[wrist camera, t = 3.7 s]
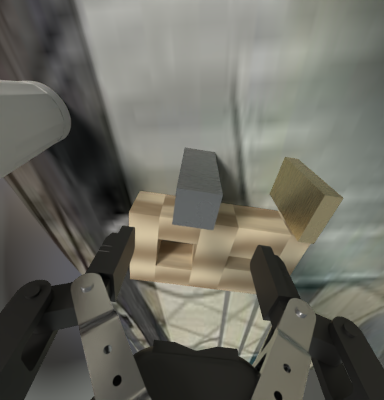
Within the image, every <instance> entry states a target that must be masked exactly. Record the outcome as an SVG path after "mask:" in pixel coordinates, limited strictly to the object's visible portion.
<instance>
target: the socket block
mask: <svg viewBox="0 0 384 400" xmlns="http://www.w3.org/2000/svg"><path fill="white" fill-rule="evenodd" d="M175 197H176V196H173V195H166V194H159V193H152V192H145V191H140V192H139V194H138V196H137V197H136V199H135V201H134V203H133V205H132V207H131V209H130V211H129V227H135V249H134V253H133V256H132V259H131V262H130V279H137V280H145V281H153V282H161V283H169V284H177V285H185V286H193V287H202V288H210V289H218V290H226V291H234V292H242V293H250V294H256V290H255V286H254V283H253V279H252V275H251V271H250V261H251V259H252V256H253V254H254V252H255V250H256V247H257V246H258V245H265V246H270V247H271V248H272V250H273V252H274V255H278V256H279V257H280V258H281V259H282V261H283V262H284V264H285V266H286V268H287V271H288V272H289V275H291V273H292V272H293V270H294V269H295V267H296V265H297V264H298V262H299V261H300V259H301V258H302V256H303V255H304V253H305V251H306V250H307V248H308V247H309V245H310V244H311V243H304V242H298V241H297V240H296V238H295V236H294V235H293V233H292V231H291V229H290V228H289V226H288V224H287V223H286V221H285V219H284V218H283V216H282V214H281V212H280V211H275V210H268V209H261V208H255V207H248V206H241V205H234V204H227V203H221V204H220V208H219V211H218V215H217V219H216V222H215V226H214V230H207V229H200V228H193V227H186V226H179V225H172V221H173V213H174V205H175ZM163 240H169V241H163ZM171 241H176V242H171ZM178 242H184V243H178ZM186 243H191V244H186Z"/></svg>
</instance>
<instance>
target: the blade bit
mask: <svg viewBox="0 0 384 400" xmlns="http://www.w3.org/2000/svg"><path fill="white" fill-rule="evenodd" d="M270 195H271V197H272V199H273V201H274V202H275V204H276V206H277V207H278V209H279V211H280V212H281V214H282V216H283V218H284V219H285V221H286V223H287V224H288V226H289V228H290V229H291V231H292V233H293V235H294V236H295V238H296V240H297V241H298V242H304V243H311V244H314V243H315V241H316V240H317V238H318V237H319V235H320V234H321V232H322V231H323V229H324V227H325V226H326V224H327V223H328V221H329V220H330V218H331V217H332V215H333V214H334V212H335V211H336V209H337V208H338V206H339V204H340V203H341V201H342V200H343V197H342V196H341V195H339V194H338V193H337V192H336V191H335V190H334V189H332V188H331V187H330V186H329V185H328V184H327V183H325V182H324V181H323V180H322V179H321V178H320V177H318V176H317V175H316V174H315V173H314V172H313V171H311V170H310V169H309V168H308V167H307V166H306V165H304V164H303V163H302V162H301V161H300V160H299V159H295V158H288V157H285V158H284V161H283V163H282V166H281V168H280V171H279V173H278V175H277V178H276V180H275V183H274V185H273V187H272V190H271V192H270Z"/></svg>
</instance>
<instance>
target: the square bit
mask: <svg viewBox="0 0 384 400" xmlns="http://www.w3.org/2000/svg"><path fill="white" fill-rule="evenodd" d="M222 197H223V193H222V187H221V182H220V177H219V172H218V167H217V162H216V157H215V152H209V151H203V150H197V149H190V148H185V149H184V154H183V159H182V164H181V169H180V174H179V179H178V184H177V190H176V197H175V205H174V213H173V221H172V225H179V226H186V227H193V228H200V229H207V230H214V226H215V222H216V219H217V215H218V211H219V208H220V204H221V200H222Z"/></svg>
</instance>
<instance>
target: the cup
mask: <svg viewBox="0 0 384 400" xmlns="http://www.w3.org/2000/svg"><path fill="white" fill-rule="evenodd" d="M70 129H71V118H70V114H69V111H68V109H67V107H66V105H65V103H64V102H63V100H62V99H61V98H60V97H59V95H58V94H57V93H56V92H54V91H53V90H52V89H51V88H49V87H48V86H46V85H44V84H42V83H39V82H35V81H7V80H0V179H1V178H3V177H4V176H6V175H7V174H9V173H10V172H12V171H14V170H15V169H17V168H18V167H20V166H21V165H23V164H24V163H26V162H27V161H29V160H31V159H32V158H34V157H35V156H37V155H38V154H40V153H41V152H43V151H44V150H46V149H48V148H49V147H51V146H52V145H54V144H55V143H57V142H59V141H61V140H63V139H65V138H66V137H67V135H68V134H69V132H70Z"/></svg>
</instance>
